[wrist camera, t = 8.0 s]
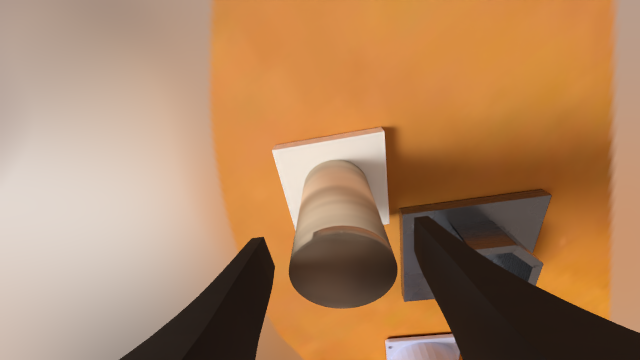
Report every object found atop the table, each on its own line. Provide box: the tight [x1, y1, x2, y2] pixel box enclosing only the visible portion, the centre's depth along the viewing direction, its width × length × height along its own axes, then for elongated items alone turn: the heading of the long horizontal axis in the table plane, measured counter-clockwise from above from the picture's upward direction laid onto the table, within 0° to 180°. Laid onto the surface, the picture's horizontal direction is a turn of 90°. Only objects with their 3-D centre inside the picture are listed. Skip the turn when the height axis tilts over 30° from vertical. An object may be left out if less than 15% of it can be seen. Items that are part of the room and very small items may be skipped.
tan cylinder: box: [289, 160, 397, 308], centre depth 12 cm, size 4×4×7 cm
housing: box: [399, 189, 551, 302], centre depth 18 cm, size 10×10×3 cm
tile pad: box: [272, 127, 389, 230], centre depth 16 cm, size 7×7×1 cm
